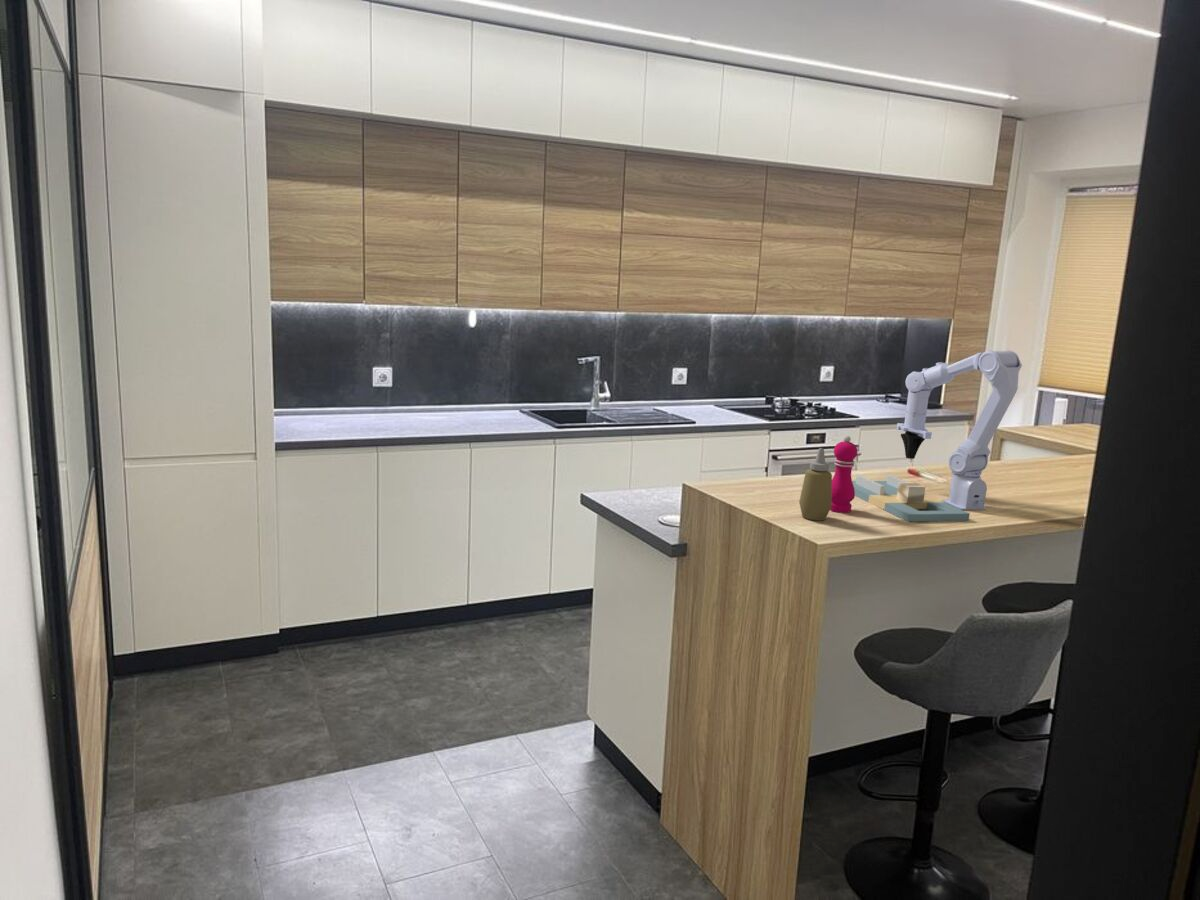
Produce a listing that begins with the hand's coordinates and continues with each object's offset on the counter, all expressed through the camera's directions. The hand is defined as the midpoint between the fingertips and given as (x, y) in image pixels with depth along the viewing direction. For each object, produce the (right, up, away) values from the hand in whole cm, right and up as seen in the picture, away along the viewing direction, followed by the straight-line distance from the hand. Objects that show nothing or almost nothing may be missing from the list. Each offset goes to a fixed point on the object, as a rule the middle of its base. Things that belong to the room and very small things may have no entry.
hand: (910, 458), depth 257 cm
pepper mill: (-28, -14, -26) cm, 41 cm away
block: (-7, -11, -20) cm, 25 cm away
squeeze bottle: (-37, -15, -36) cm, 54 cm away
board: (-8, -12, -16) cm, 22 cm away
